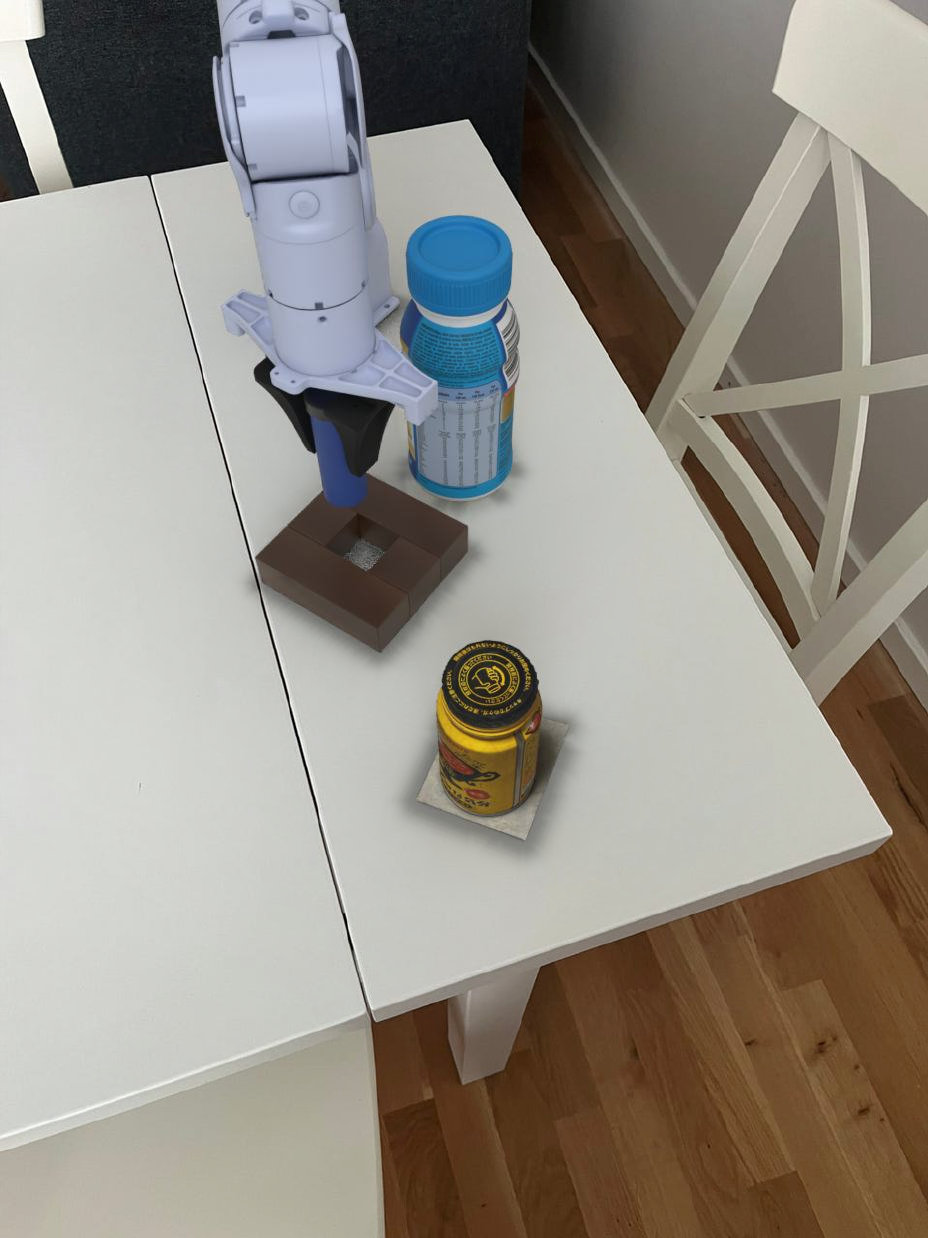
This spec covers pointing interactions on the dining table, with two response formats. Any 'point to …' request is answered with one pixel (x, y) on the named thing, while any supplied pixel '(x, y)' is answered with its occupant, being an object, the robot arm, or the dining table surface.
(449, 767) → the condiment
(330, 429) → the blue cylinder
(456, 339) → the beverage bottle
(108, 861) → the dining table surface
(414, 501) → the holder
